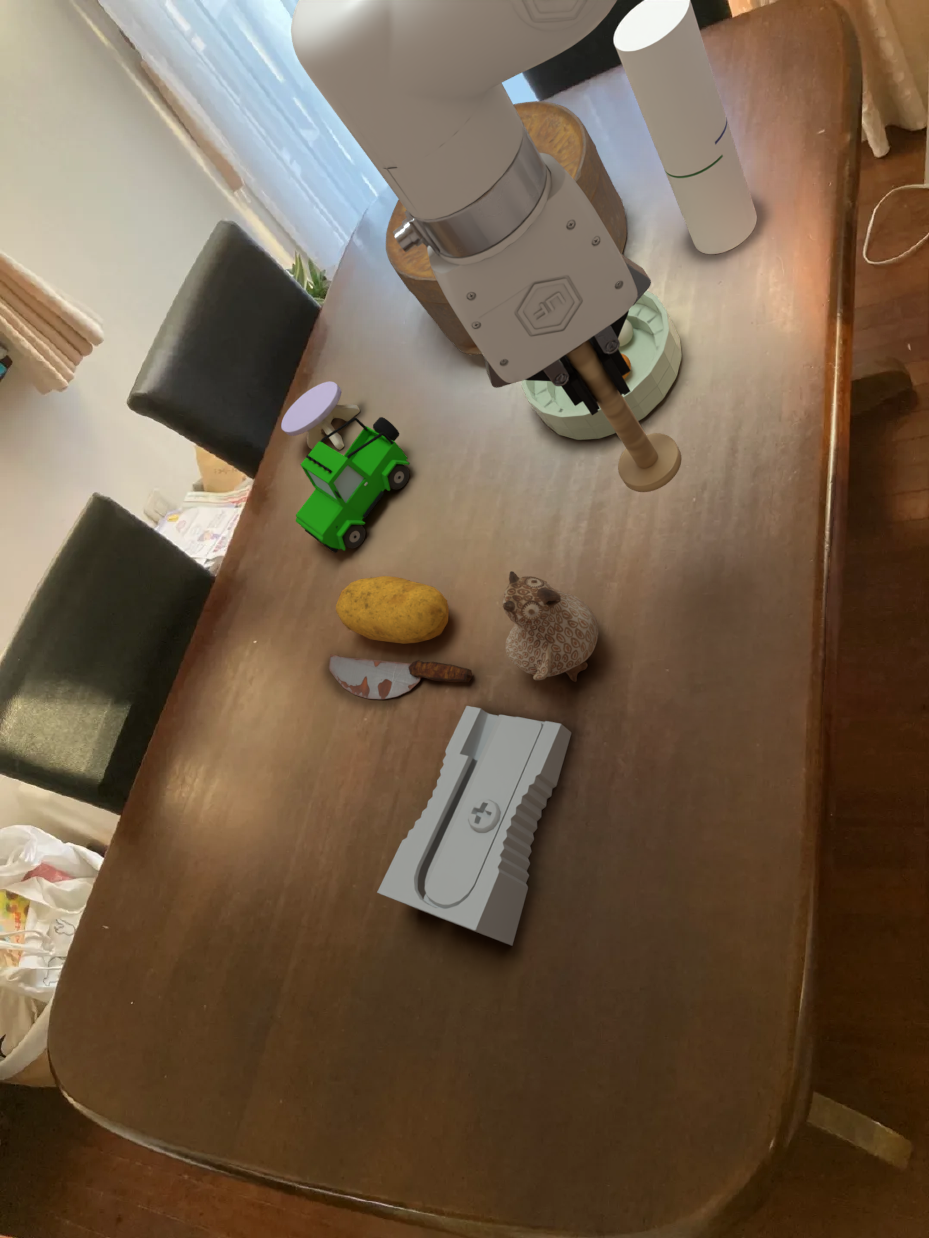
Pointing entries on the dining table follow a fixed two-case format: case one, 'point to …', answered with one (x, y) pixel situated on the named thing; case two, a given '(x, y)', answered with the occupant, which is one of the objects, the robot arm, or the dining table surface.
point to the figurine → (547, 628)
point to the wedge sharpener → (480, 824)
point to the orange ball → (627, 364)
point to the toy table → (318, 414)
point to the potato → (393, 609)
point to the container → (551, 135)
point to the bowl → (648, 379)
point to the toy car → (350, 484)
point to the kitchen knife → (390, 675)
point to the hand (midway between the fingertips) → (604, 390)
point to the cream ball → (625, 333)
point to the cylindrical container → (687, 121)
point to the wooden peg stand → (628, 428)
